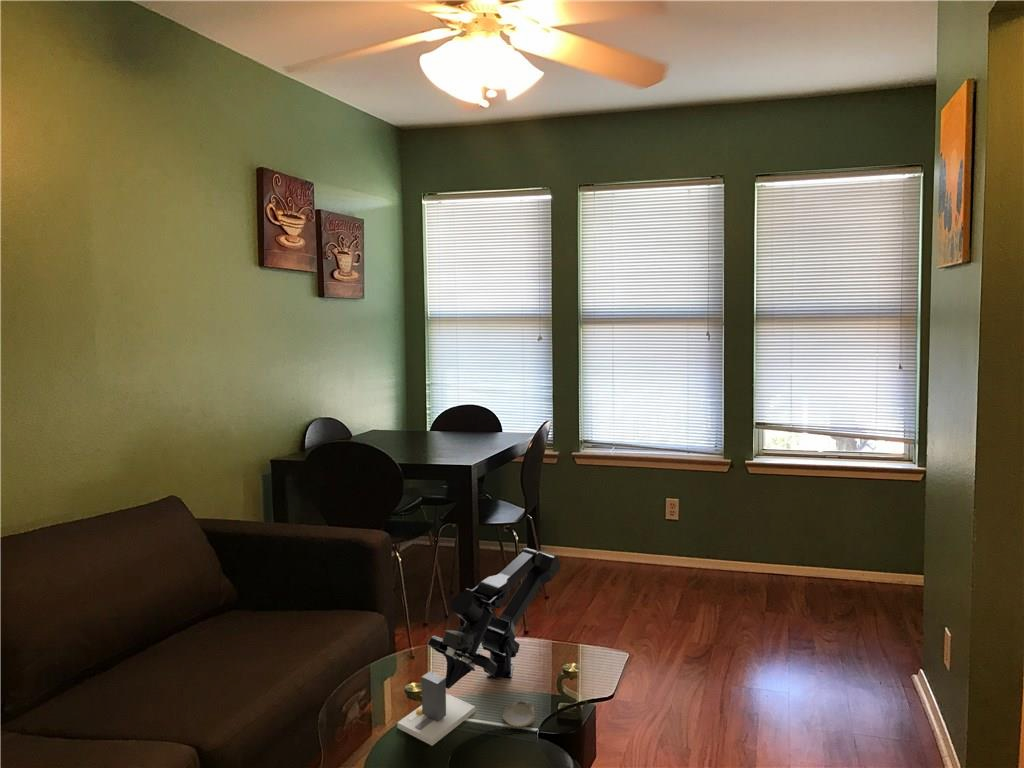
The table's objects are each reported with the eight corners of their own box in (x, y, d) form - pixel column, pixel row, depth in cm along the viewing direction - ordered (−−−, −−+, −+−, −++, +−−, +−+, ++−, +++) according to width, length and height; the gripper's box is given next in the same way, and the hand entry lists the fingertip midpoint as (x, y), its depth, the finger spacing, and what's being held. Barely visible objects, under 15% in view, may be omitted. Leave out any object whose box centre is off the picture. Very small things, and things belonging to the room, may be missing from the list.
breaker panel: (441, 696, 207) (441, 689, 207) (475, 711, 201) (475, 704, 200) (397, 728, 194) (397, 720, 194) (432, 745, 188) (432, 738, 188)
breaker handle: (430, 707, 199) (429, 671, 197) (446, 715, 196) (445, 678, 194) (422, 713, 197) (421, 676, 194) (437, 721, 194) (437, 683, 192)
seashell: (499, 728, 198) (525, 734, 193) (495, 718, 197) (521, 723, 192) (518, 707, 204) (543, 712, 199) (515, 696, 203) (540, 701, 198)
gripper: (431, 606, 205) (402, 664, 199) (490, 628, 195) (461, 691, 188) (451, 622, 213) (424, 679, 207) (509, 644, 202) (482, 705, 196)
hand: (446, 688), depth 199 cm, fingers closed
